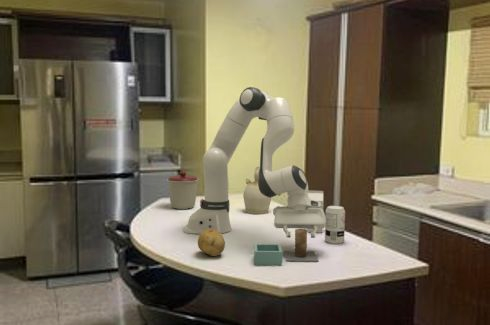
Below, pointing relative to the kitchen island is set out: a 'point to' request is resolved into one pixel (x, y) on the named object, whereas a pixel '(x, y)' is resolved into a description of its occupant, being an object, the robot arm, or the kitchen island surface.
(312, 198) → the milk carton
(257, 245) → the tub
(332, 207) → the supplement can
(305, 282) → the kitchen island surface
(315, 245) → the kitchen island surface
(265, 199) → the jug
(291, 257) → the mat
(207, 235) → the potato
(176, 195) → the canister
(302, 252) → the walnut peg
